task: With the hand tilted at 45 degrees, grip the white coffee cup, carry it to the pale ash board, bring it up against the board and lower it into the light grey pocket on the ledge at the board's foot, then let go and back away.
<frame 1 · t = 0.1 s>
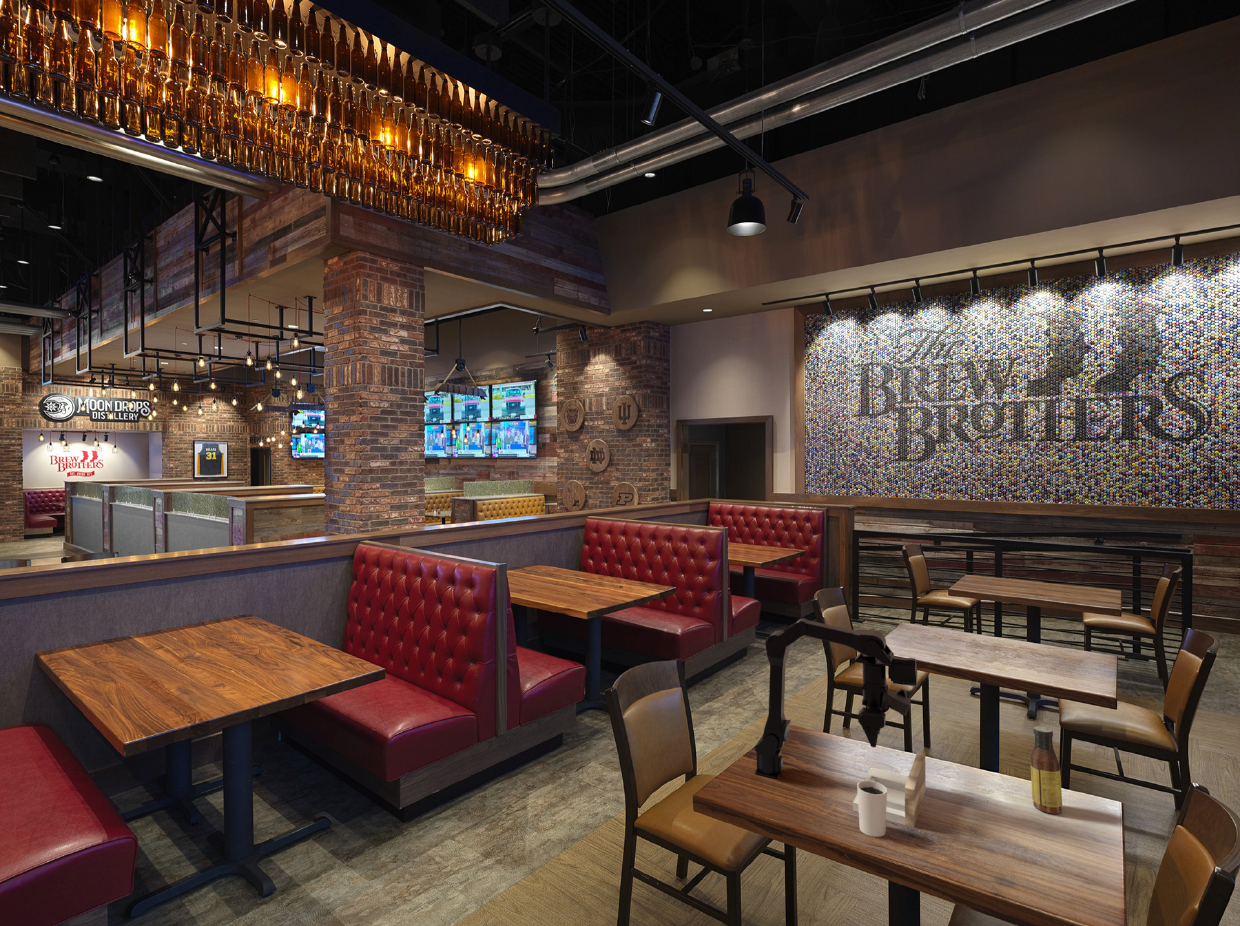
hand: (875, 740, 163), 15 cm above the table, tool pointing down, fingers open, 9 cm apart
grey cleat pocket: (890, 804, 159), on the table
sauce bottle: (1046, 809, 157), on the table
ash wall board: (915, 787, 158), on the table
white coffee cup: (872, 830, 148), on the table
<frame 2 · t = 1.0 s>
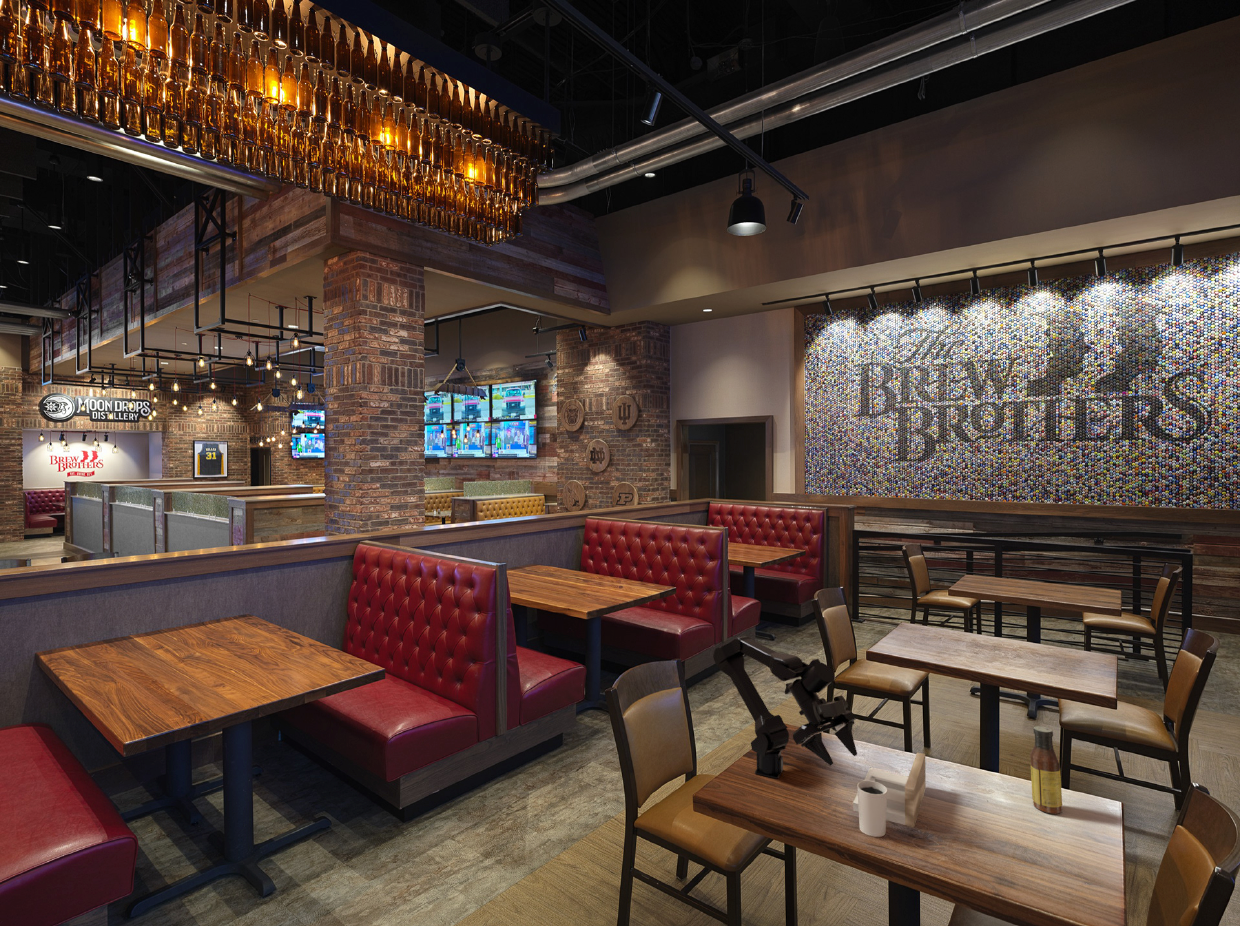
hand: (844, 759, 155), 13 cm above the table, tool tilted 45°, fingers open, 9 cm apart
nothing on the table moved.
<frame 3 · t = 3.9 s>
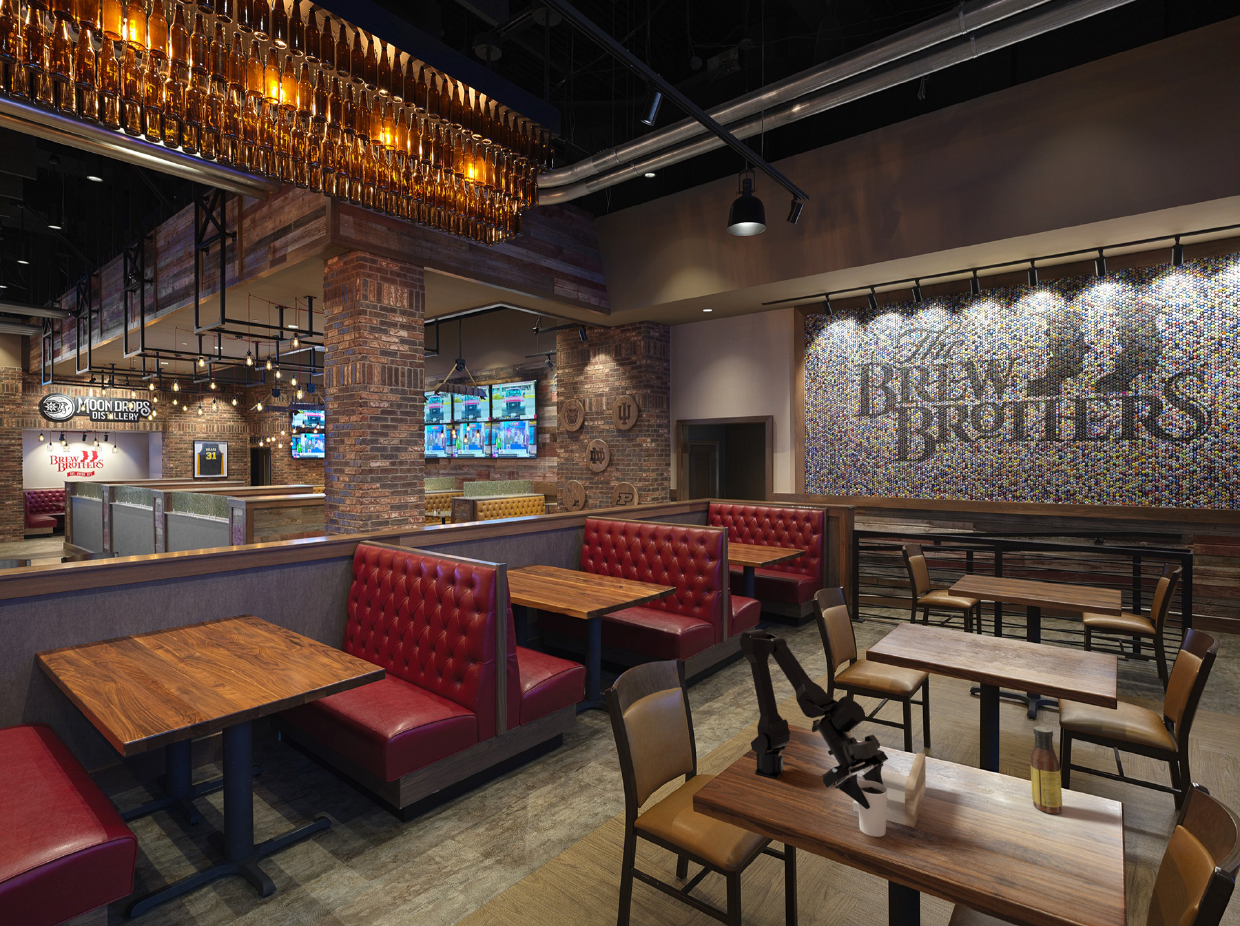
hand: (877, 804, 147), 7 cm above the table, tool tilted 45°, fingers closed on white coffee cup, 6 cm apart
white coffee cup: (872, 830, 148), on the table, touching gripper
everything else where it was.
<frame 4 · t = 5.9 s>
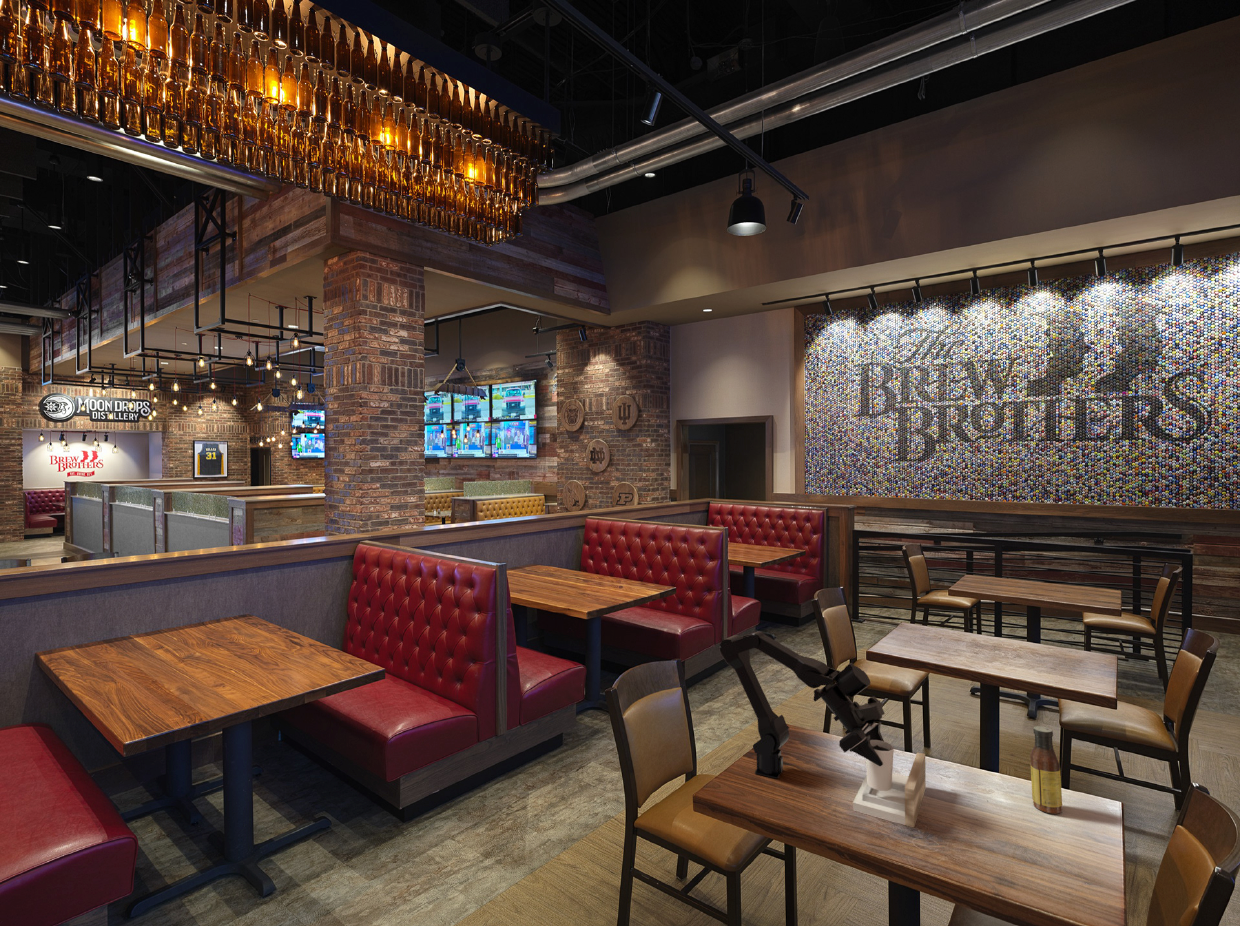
hand: (885, 760, 157), 12 cm above the table, tool tilted 45°, fingers closed on white coffee cup, 6 cm apart
white coffee cup: (879, 785, 158), point 5 cm above the table, touching gripper
everything else where it was.
when the fingers open (9 cm above the table, at t = 8.0 s): white coffee cup stays where it is, resting on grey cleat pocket.
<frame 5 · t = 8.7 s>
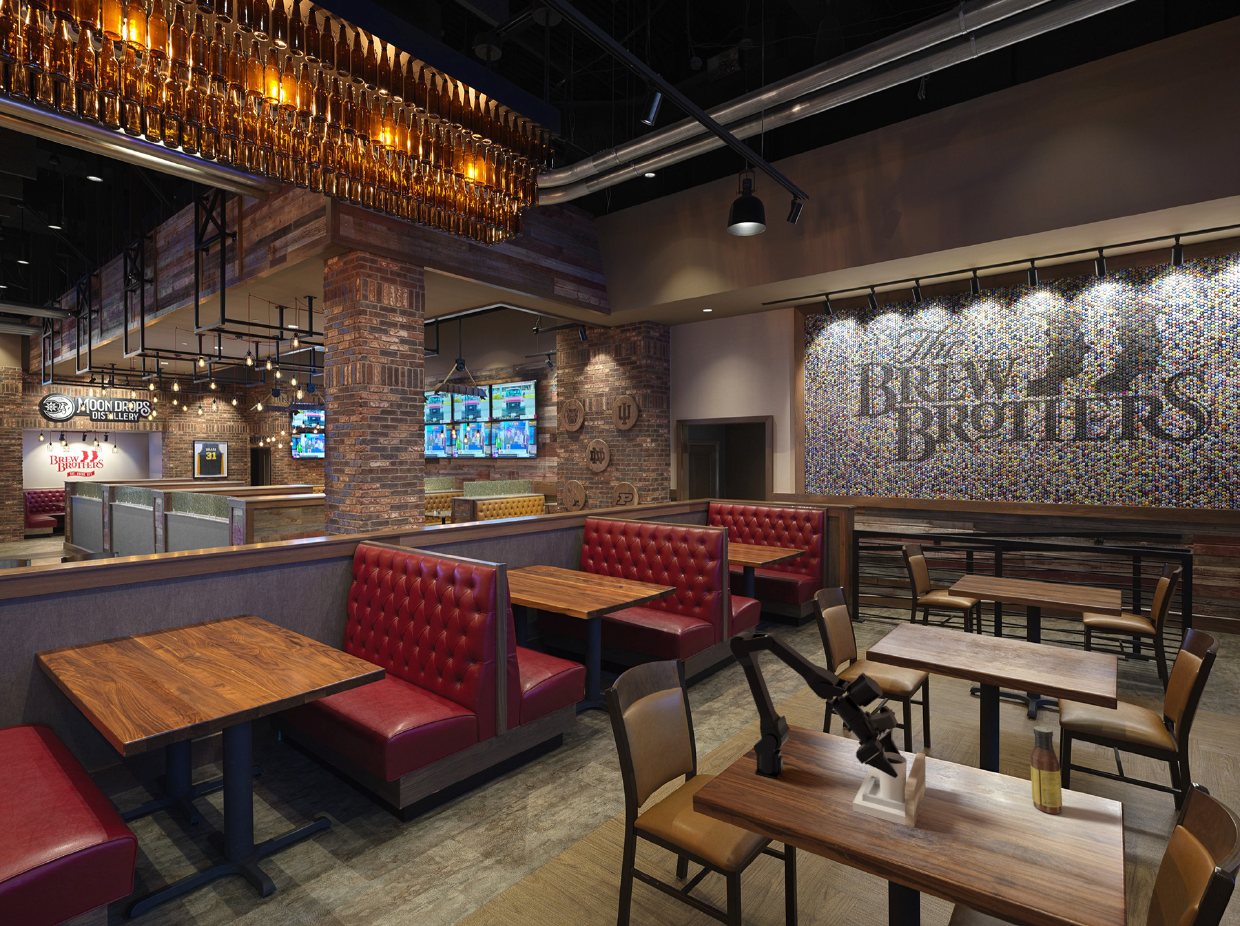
hand: (899, 769, 158), 10 cm above the table, tool tilted 45°, fingers open, 9 cm apart
white coffee cup: (892, 798, 158), point 2 cm above the table, touching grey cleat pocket
everything else where it was.
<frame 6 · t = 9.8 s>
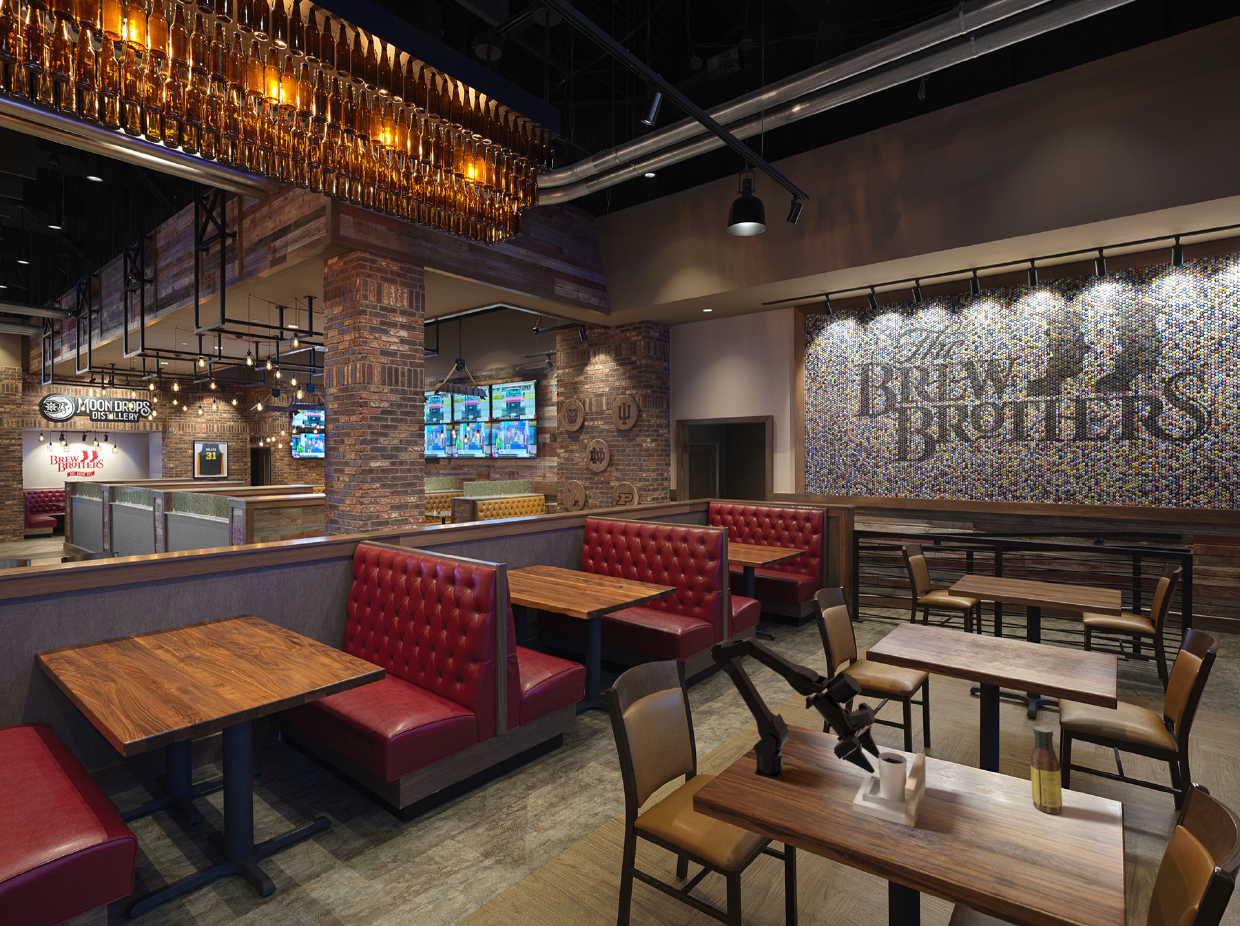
hand: (876, 764, 161), 9 cm above the table, tool tilted 45°, fingers open, 9 cm apart
nothing on the table moved.
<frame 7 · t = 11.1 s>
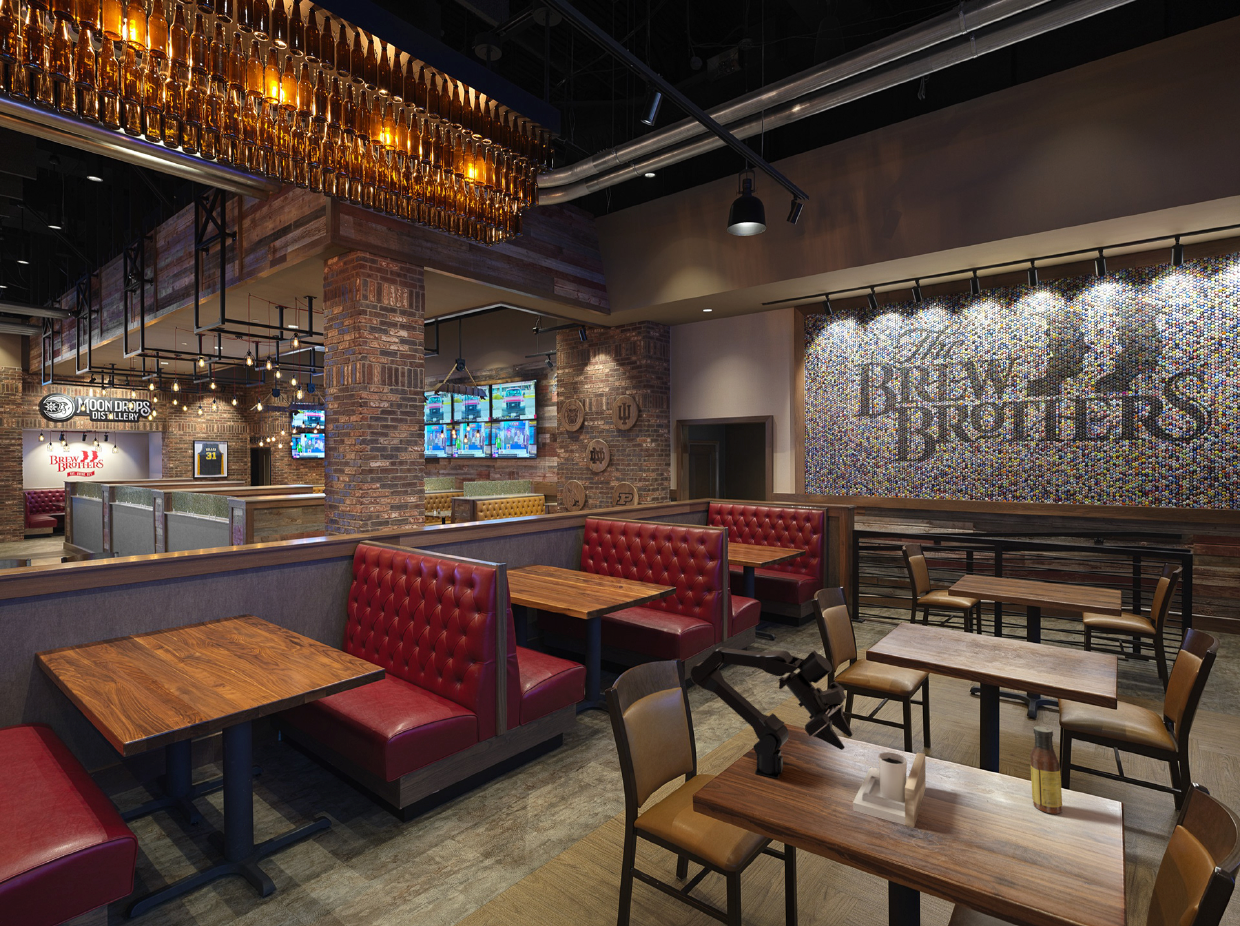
hand: (847, 742, 165), 13 cm above the table, tool tilted 45°, fingers open, 9 cm apart
nothing on the table moved.
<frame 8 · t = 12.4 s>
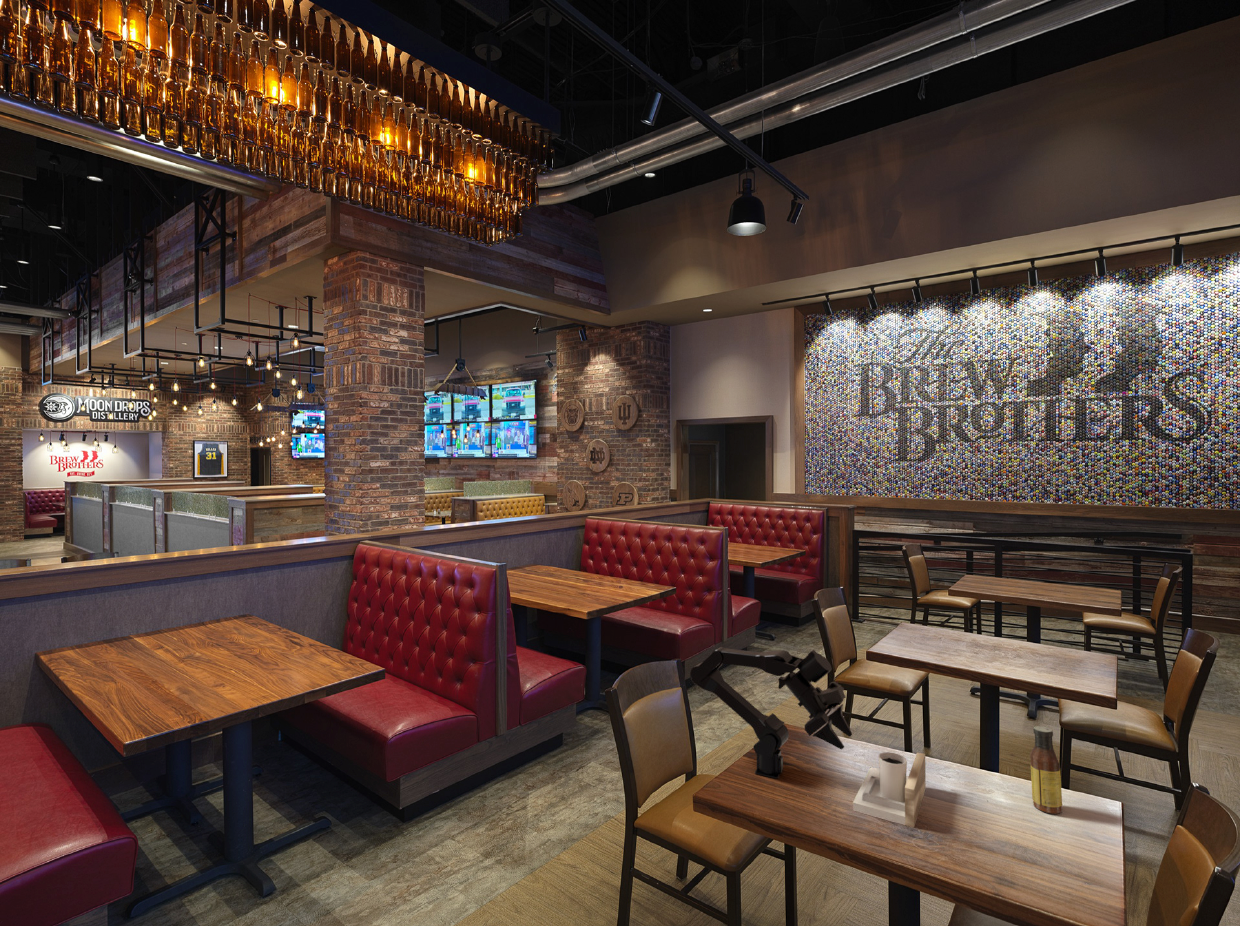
hand: (847, 741, 165), 14 cm above the table, tool tilted 45°, fingers open, 9 cm apart
nothing on the table moved.
at the end: white coffee cup 0.6 cm off-centre on the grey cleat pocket, point 1.8 cm above the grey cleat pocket's base; white coffee cup tilted 0°; the gripper is holding nothing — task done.
